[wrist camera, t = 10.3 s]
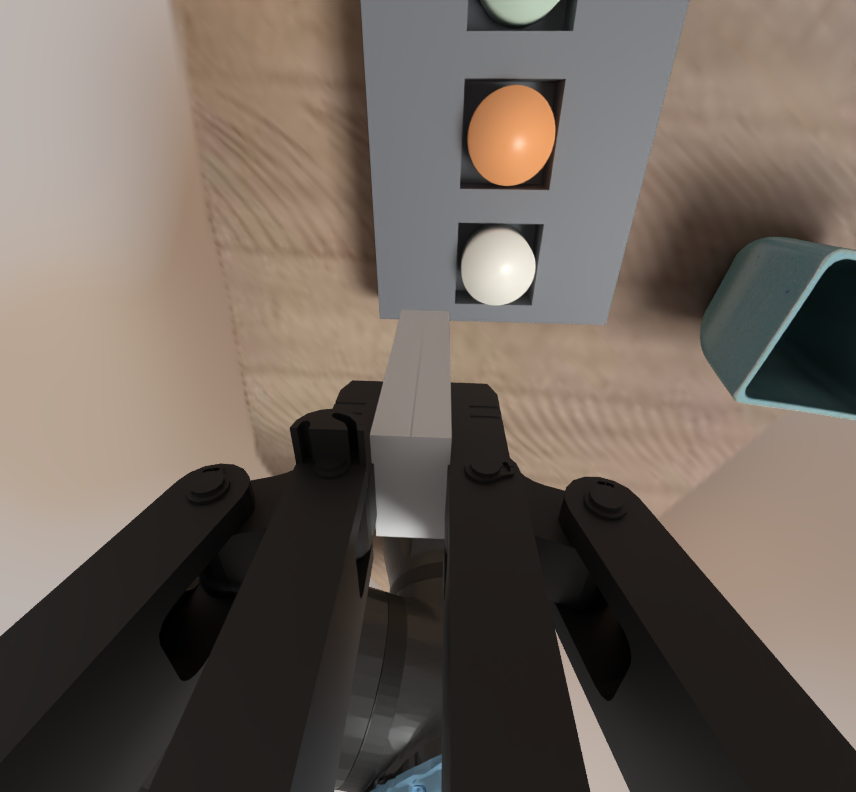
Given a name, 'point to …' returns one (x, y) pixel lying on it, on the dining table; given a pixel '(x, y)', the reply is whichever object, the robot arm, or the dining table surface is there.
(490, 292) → the cream button
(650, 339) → the dining table surface
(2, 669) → the robot arm
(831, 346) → the flower pot
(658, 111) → the button panel
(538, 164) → the orange button
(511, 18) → the sage button
